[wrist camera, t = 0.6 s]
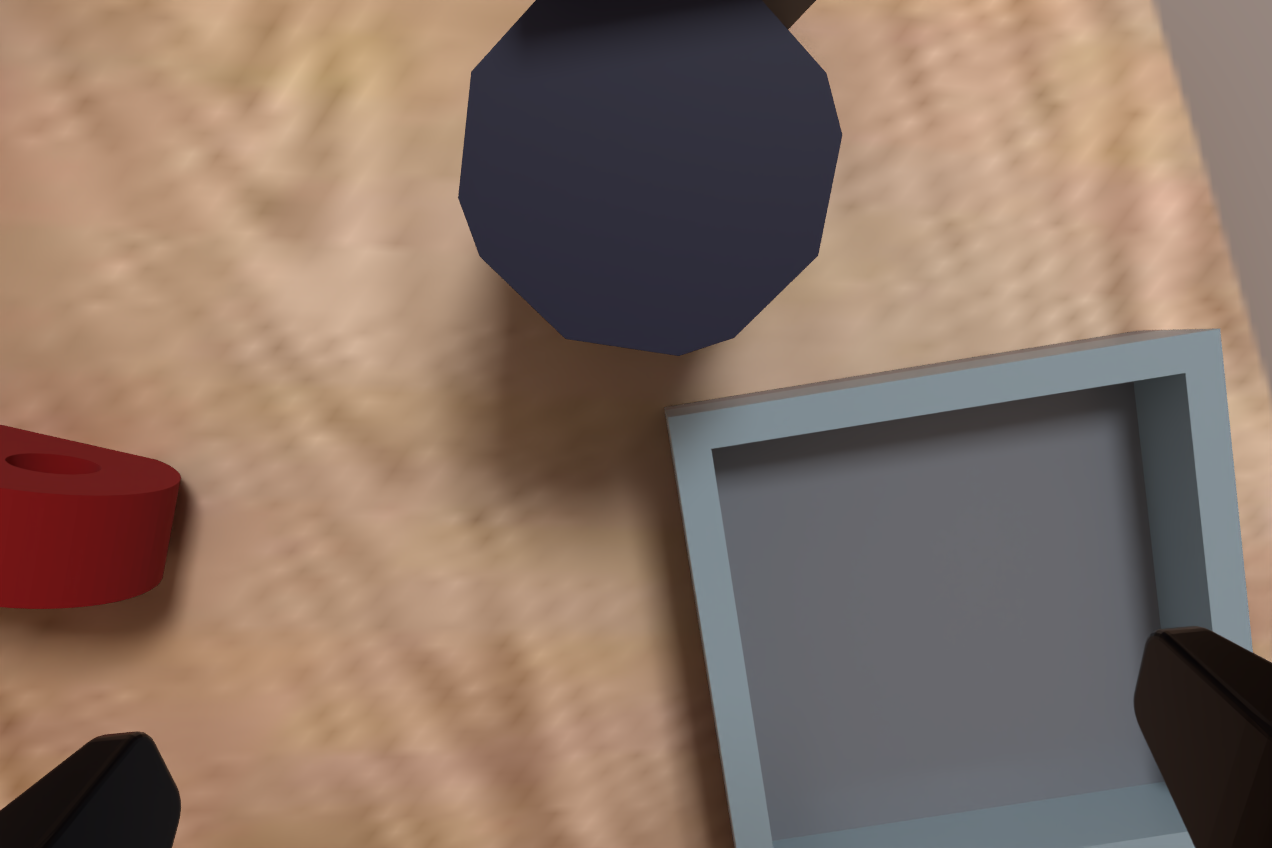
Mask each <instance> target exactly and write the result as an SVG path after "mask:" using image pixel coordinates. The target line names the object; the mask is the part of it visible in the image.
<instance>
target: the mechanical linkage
mask: <svg viewBox="0 0 1272 848" xmlns="http://www.w3.org/2000/svg"><path fill="white" fill-rule="evenodd" d="M180 479H181V477H180V474H179V473H178V471H176V470H175V469H174V468H172V467H171V466H169V465H167V464H165V463H163V462H160V461H158V460H155V459H150V458H146V457H142V456H137V455H133V454H128V453H124V452H119V451H115V450H110V449H106V448H102V447H97V446H93V445H88V444H84V443H79V442H75V441H70V440H66V439H61V438H57V437H53V436H48V435H44V434H39V433H35V432H30V431H26V430H21V429H17V428H13V427H8V426H4V425H0V607H7V608H26V609H54V608H74V607H85V606H94V605H101V604H107V603H112V602H117V601H121V600H125V599H129V598H132V597H135V596H138V595H141V594H143V593H145V592H147V591H149V590H151V589H153V588H154V587H156V586H157V585H158V584H159V583H160V582H161V580H162V578H163V573H164V568H165V562H166V557H167V551H168V545H169V540H170V534H171V529H172V523H173V518H174V512H175V507H176V501H177V496H178V490H179V485H180Z"/></svg>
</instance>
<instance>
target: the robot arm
mask: <svg viewBox="0 0 1272 848" xmlns="http://www.w3.org/2000/svg"><path fill="white" fill-rule="evenodd" d="M1133 702H1134V712H1135V716H1136V720H1137V723H1138V725H1139V728H1140V730H1141V732H1142V734H1143V736H1144V738H1145V741H1146V743H1147V745H1148V747H1149V749H1150V751H1151V754H1152V756H1153V758H1154V760H1155V762H1156V764H1157V767H1158V769H1159V771H1160V773H1161V775H1162V777H1163V780H1164V782H1165V784H1166V786H1167V788H1168V790H1169V793H1170V795H1171V797H1172V799H1173V801H1174V803H1175V806H1176V808H1177V810H1178V812H1179V814H1180V816H1181V819H1182V821H1183V823H1184V825H1185V827H1186V829H1187V832H1188V834H1189V836H1190V838H1191V840H1192V842H1193V845H1194V847H1195V848H1272V663H1271V662H1269V661H1267V660H1266V659H1264V658H1262V657H1260V656H1258V655H1256V654H1254V653H1252V652H1251V651H1249V650H1247V649H1245V648H1243V647H1241V646H1239V645H1237V644H1236V643H1234V642H1232V641H1230V640H1228V639H1226V638H1224V637H1222V636H1221V635H1219V634H1217V633H1215V632H1213V631H1211V630H1209V629H1206V628H1204V627H1200V626H1186V627H1176V628H1166V629H1158V630H1156V631H1153V632H1152V633H1151V634H1150V635H1149V636H1148V638H1147V640H1146V643H1145V647H1144V651H1143V656H1142V660H1141V665H1140V669H1139V674H1138V678H1137V682H1136V687H1135V691H1134V699H1133ZM180 812H181V800H180V794H179V791H178V788H177V786H176V784H175V782H174V780H173V778H172V776H171V774H170V772H169V770H168V768H167V766H166V764H165V762H164V760H163V758H162V756H161V754H160V752H159V750H158V748H157V746H156V744H155V742H154V741H153V739H152V738H151V737H150V736H148V735H147V734H146V733H144V732H127V733H117V734H107V735H102V736H98V737H96V738H94V739H92V740H91V741H89V742H88V743H87V744H85V745H84V746H83V747H81V748H80V749H79V750H77V751H76V752H75V753H74V754H72V755H71V756H70V757H69V758H67V759H66V760H65V761H63V762H62V763H61V764H60V765H58V766H57V767H56V768H54V769H53V770H52V771H51V772H49V773H48V774H47V775H45V776H44V777H43V778H42V779H40V780H39V781H38V782H36V783H35V784H34V785H33V786H31V787H30V788H29V789H27V790H26V791H25V792H24V793H22V794H21V795H20V796H18V797H17V798H16V799H15V800H13V801H12V802H11V803H9V804H8V805H7V806H6V807H4V808H3V809H2V810H0V848H172V846H173V842H174V838H175V835H176V831H177V827H178V824H179V819H180Z"/></svg>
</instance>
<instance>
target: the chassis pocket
mask: <svg viewBox="0 0 1272 848" xmlns="http://www.w3.org/2000/svg"><path fill="white" fill-rule="evenodd" d="M664 411H665V417H666V423H667V429H668V436H669V442H670V448H671V454H672V461H673V467H674V473H675V479H676V486H677V492H678V498H679V504H680V511H681V517H682V523H683V529H684V536H685V542H686V548H687V555H688V561H689V567H690V573H691V580H692V586H693V592H694V598H695V605H696V611H697V617H698V623H699V630H700V636H701V642H702V648H703V655H704V661H705V667H706V673H707V680H708V686H709V692H710V699H711V705H712V711H713V717H714V724H715V730H716V736H717V742H718V749H719V755H720V761H721V767H722V774H723V780H724V786H725V792H726V799H727V805H728V811H729V818H730V824H731V830H732V836H733V843H734V848H1195V847H1194V845H1193V842H1192V840H1191V838H1190V836H1189V834H1188V832H1187V829H1186V827H1185V825H1184V823H1183V821H1182V819H1181V816H1180V814H1179V812H1178V810H1177V808H1176V806H1175V803H1174V801H1173V799H1172V797H1171V795H1170V793H1169V790H1168V788H1167V786H1166V784H1165V782H1164V780H1163V777H1162V775H1161V773H1160V771H1159V769H1158V767H1157V764H1156V762H1155V760H1154V758H1153V756H1152V754H1151V751H1150V749H1149V747H1148V745H1147V743H1146V741H1145V738H1144V736H1143V734H1142V732H1141V730H1140V728H1139V725H1138V723H1137V720H1136V716H1135V712H1134V702H1133V699H1134V691H1135V687H1136V682H1137V678H1138V674H1139V669H1140V665H1141V660H1142V656H1143V651H1144V647H1145V643H1146V640H1147V638H1148V636H1149V635H1150V634H1151V633H1152V632H1153V631H1156V630H1158V629H1166V628H1176V627H1186V626H1200V627H1204V628H1206V629H1209V630H1211V631H1213V632H1215V633H1217V634H1219V635H1221V636H1222V637H1224V638H1226V639H1228V640H1230V641H1232V642H1234V643H1236V644H1237V645H1239V646H1241V647H1243V648H1245V649H1247V650H1249V651H1251V652H1252V653H1253V650H1252V640H1251V630H1250V620H1249V610H1248V600H1247V591H1246V581H1245V571H1244V561H1243V551H1242V541H1241V531H1240V522H1239V512H1238V502H1237V492H1236V482H1235V472H1234V462H1233V453H1232V443H1231V433H1230V423H1229V413H1228V403H1227V393H1226V383H1225V374H1224V364H1223V354H1222V344H1221V334H1220V329H1183V330H1143V331H1133V332H1127V333H1121V334H1114V335H1108V336H1102V337H1096V338H1090V339H1083V340H1077V341H1071V342H1065V343H1059V344H1052V345H1046V346H1040V347H1034V348H1028V349H1021V350H1015V351H1009V352H1003V353H997V354H990V355H984V356H978V357H972V358H966V359H959V360H953V361H947V362H941V363H935V364H928V365H922V366H916V367H910V368H904V369H898V370H891V371H885V372H879V373H873V374H867V375H860V376H854V377H848V378H842V379H836V380H829V381H823V382H817V383H811V384H805V385H798V386H792V387H786V388H780V389H774V390H767V391H761V392H755V393H749V394H743V395H736V396H730V397H724V398H718V399H712V400H705V401H699V402H693V403H687V404H681V405H674V406H668V407H664Z"/></svg>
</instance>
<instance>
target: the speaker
mask: <svg viewBox="0 0 1272 848" xmlns="http://www.w3.org/2000/svg"><path fill="white" fill-rule="evenodd" d="M815 1H816V0H536V1H535V2H534V3H533V4H532V5H531V6H530V7H529V9H528V10H527V11H526V12H525V13H524V14H523V15H522V16H521V17H520V18H519V20H518V21H517V22H516V23H515V24H514V25H513V26H512V27H511V28H510V30H509V31H508V32H507V33H506V34H505V35H504V36H503V37H502V38H501V40H500V41H499V42H498V43H497V44H496V45H495V46H494V47H493V48H492V49H491V51H490V52H489V53H488V54H487V55H486V56H485V57H484V58H483V59H482V61H481V62H480V63H479V64H478V65H477V66H476V67H475V68H474V69H473V71H472V72H471V80H470V90H469V100H468V109H467V119H466V128H465V138H464V148H463V157H462V167H461V176H460V186H459V196H458V199H459V201H460V204H461V207H462V209H463V212H464V215H465V218H466V220H467V223H468V226H469V228H470V231H471V234H472V237H473V239H474V242H475V245H476V247H477V250H478V253H479V256H480V257H481V258H482V259H483V260H484V261H485V262H486V263H487V264H488V265H489V266H490V267H491V268H492V269H493V270H494V271H495V272H496V273H498V274H499V275H500V276H501V277H502V278H503V279H504V280H505V281H506V282H507V283H508V284H509V285H510V286H511V287H512V288H513V289H514V290H515V291H516V292H517V293H518V294H519V295H520V296H521V297H522V298H524V299H525V300H526V301H527V302H528V303H529V304H530V305H531V306H532V307H533V308H534V309H535V310H536V311H537V312H538V313H539V314H540V315H541V316H542V317H543V318H544V319H545V320H546V321H547V322H548V323H550V324H551V325H552V326H553V327H554V328H555V329H556V330H557V331H558V332H559V333H560V334H561V335H562V336H563V337H564V338H565V339H570V340H577V341H583V342H590V343H597V344H603V345H610V346H617V347H623V348H630V349H637V350H643V351H650V352H656V353H663V354H670V355H676V356H680V355H683V354H686V353H689V352H692V351H695V350H698V349H701V348H704V347H707V346H711V345H714V344H717V343H720V342H723V341H726V340H729V339H732V338H734V337H735V336H736V335H737V334H738V333H739V332H740V331H741V330H742V329H744V328H745V327H746V326H747V325H748V324H749V323H750V322H751V321H752V320H753V319H754V318H755V317H756V316H757V315H758V314H759V313H760V312H761V311H762V310H763V309H764V308H765V307H766V306H767V305H768V304H769V303H770V302H771V301H772V300H773V299H774V298H775V297H776V296H777V295H778V294H779V293H780V292H781V291H782V290H783V289H784V288H785V287H786V286H787V285H788V284H789V283H790V282H792V281H793V280H794V279H795V278H796V277H797V276H798V275H799V274H800V273H801V272H802V271H803V270H804V269H805V268H806V267H807V266H808V265H809V264H810V263H811V262H812V261H813V260H814V259H815V258H816V257H817V256H818V253H819V248H820V243H821V238H822V233H823V228H824V223H825V218H826V213H827V208H828V203H829V198H830V193H831V188H832V183H833V178H834V173H835V168H836V163H837V158H838V153H839V148H840V143H841V138H842V132H841V128H840V124H839V120H838V117H837V113H836V109H835V105H834V101H833V97H832V93H831V89H830V85H829V82H828V78H827V74H826V72H825V71H824V70H823V69H822V68H821V67H820V65H819V64H818V63H817V62H816V61H815V60H814V59H813V58H812V56H811V55H810V54H809V53H808V52H807V51H806V50H805V48H804V47H803V46H802V45H801V44H800V43H799V42H798V41H797V39H796V38H795V37H794V36H793V35H792V34H791V33H790V32H789V30H788V29H789V28H790V27H791V26H792V25H793V24H794V23H795V22H796V21H797V20H798V19H799V18H800V17H801V15H802V14H803V13H804V12H805V11H806V10H807V9H808V8H809V7H810V6H811V5H812V4H813V3H814V2H815Z"/></svg>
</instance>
